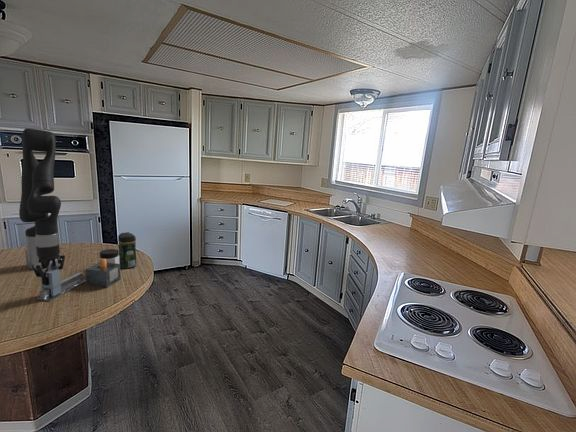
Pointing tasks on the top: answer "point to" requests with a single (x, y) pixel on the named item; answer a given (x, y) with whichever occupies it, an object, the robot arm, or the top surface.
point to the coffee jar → (127, 250)
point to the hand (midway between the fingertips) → (51, 282)
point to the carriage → (53, 282)
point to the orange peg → (103, 263)
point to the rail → (63, 287)
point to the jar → (110, 256)
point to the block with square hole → (102, 275)
